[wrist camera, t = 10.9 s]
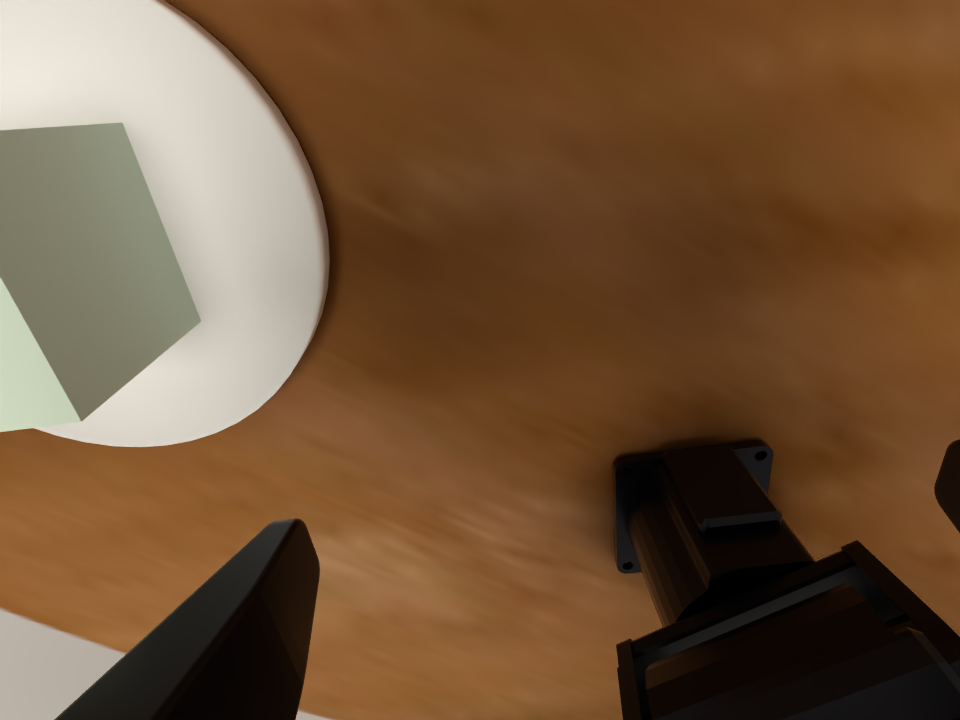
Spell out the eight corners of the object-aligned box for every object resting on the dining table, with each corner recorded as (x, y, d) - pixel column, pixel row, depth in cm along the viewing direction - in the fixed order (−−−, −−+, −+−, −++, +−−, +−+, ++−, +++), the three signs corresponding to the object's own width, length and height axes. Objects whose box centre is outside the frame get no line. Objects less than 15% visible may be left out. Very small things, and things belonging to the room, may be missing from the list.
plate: (373, 399, 20) (366, 420, 19) (4, 445, 21) (-28, 469, 20) (246, -90, 14) (222, -110, 12) (-290, -2, 14) (-369, -13, 13)
